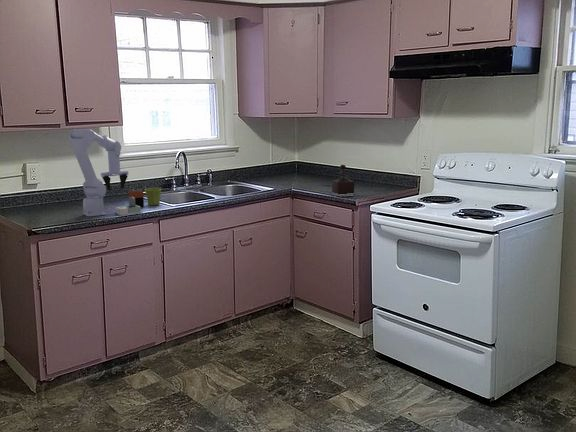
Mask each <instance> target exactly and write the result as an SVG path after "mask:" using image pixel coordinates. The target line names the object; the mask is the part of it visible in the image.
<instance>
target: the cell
mask: <svg viewBox="0 0 576 432" xmlns="http://www.w3.org/2000/svg"><path fill="white" fill-rule="evenodd" d="M128 206H129V208H131V207H135V198H134V197H130V198H129V197H128Z"/></svg>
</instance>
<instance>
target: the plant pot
mask: <svg viewBox="0 0 576 432" xmlns="http://www.w3.org/2000/svg"><path fill="white" fill-rule="evenodd" d="M162 190H163V189H162V188H160V187H149V188H144V190H143V191H145V195H146V199H147V205H149V206H155V205H156V206H158V205H159V206H160V202H161V201H160V200H161V193H162Z"/></svg>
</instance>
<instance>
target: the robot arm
mask: <svg viewBox="0 0 576 432" xmlns="http://www.w3.org/2000/svg"><path fill="white" fill-rule="evenodd" d="M69 140H70V143H71V145H72V148H73V152H74V155H75V157H76V160H77V163H78V164H79V168H80V170H81V173H82V175H83V178H84V181H83V183H82V187H83V194H84V195H85V196H86V197H84V198H83V200H82V206H83V207H82V209H83V215H85V216H86V217H96V216H105V215H107V213H106V212H105V210H104V209H105V208H104V197H105V196H106V193H107V191H111V177H115V176H119V180H120V181H119V182H120V188H121V189H122V190H123V189H125V184H126V181H127V180H128V176H129V171H128V170H121V160H120V156H121V150H122V145H121V142H120V141H118V140H114V139H113V138H109V137H108V135H105V134H103V135H99V134H98V133H96V132H95V130H92V129H80V128H79V129H78V128H74V129H72V130H70V135H69ZM93 142H95V143H97V144H98V146H99V147H101V148H103V149H105V151H106V152H107V158H108V159H107V160H108V172H107V171H106V172H100V176H101V177H102V180H103V181H102V180H101V179H99V178H98V177H97V176H96V173H95V170H94V167H93V165H92V162H91V159H90V156H89V154H88V149H90V147H91V146H92V143H93ZM103 182H104V183H103Z"/></svg>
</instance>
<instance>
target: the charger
mask: <svg viewBox="0 0 576 432" xmlns="http://www.w3.org/2000/svg"><path fill="white" fill-rule="evenodd" d="M114 213H115V214H117V215H119V216H125V215H126V216H127V215H136V214H143V211H142V209H141V207H140V206H137V205H135V207H131V208H129V205H123V206H115V211H114Z"/></svg>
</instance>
